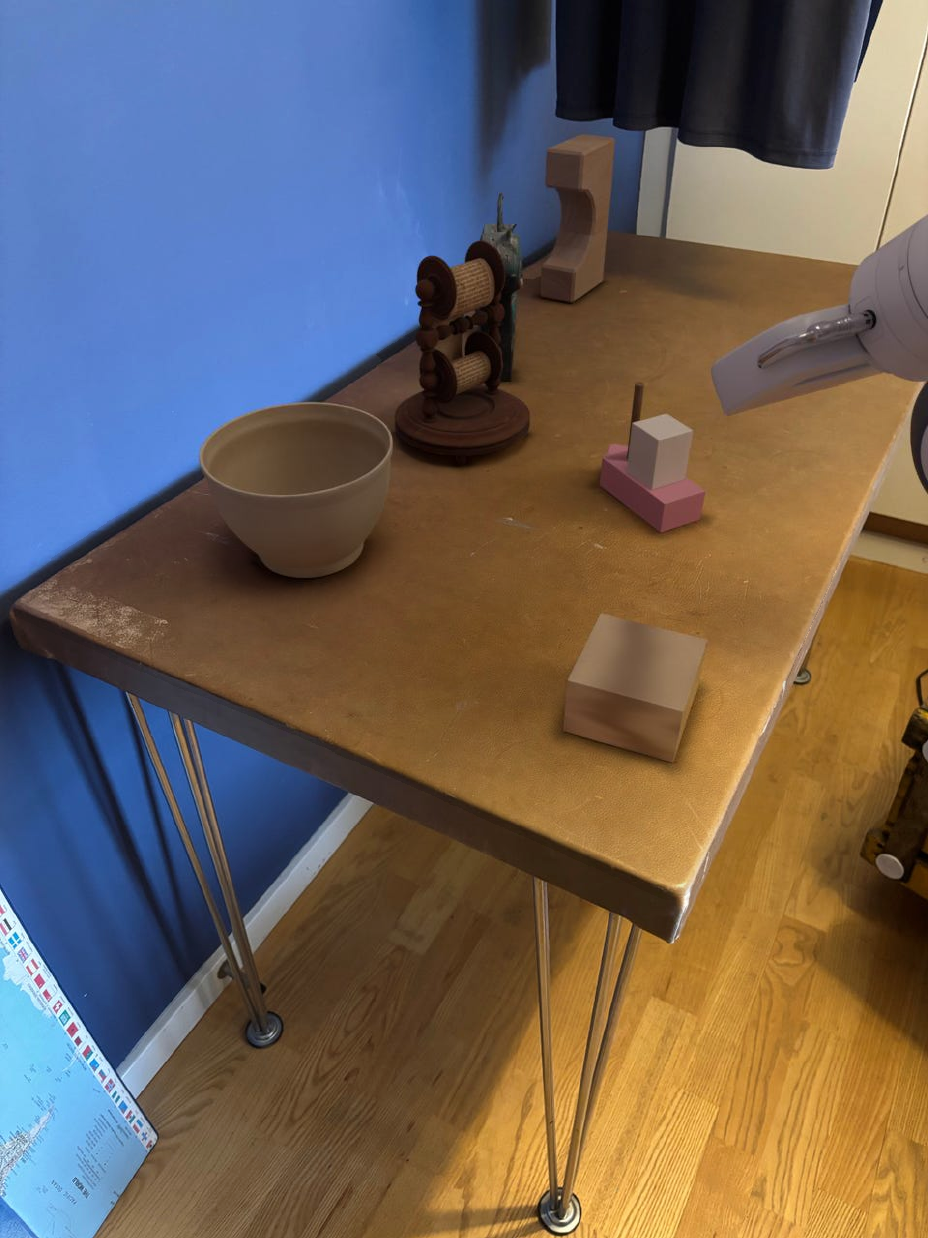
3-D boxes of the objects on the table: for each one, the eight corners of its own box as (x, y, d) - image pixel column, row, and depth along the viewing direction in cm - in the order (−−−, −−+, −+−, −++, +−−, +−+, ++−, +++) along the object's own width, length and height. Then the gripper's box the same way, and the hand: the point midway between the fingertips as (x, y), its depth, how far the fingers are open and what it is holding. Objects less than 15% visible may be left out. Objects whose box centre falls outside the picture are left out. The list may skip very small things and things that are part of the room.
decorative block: (572, 304, 132) (582, 152, 120) (537, 297, 134) (544, 148, 122) (604, 282, 139) (617, 137, 127) (571, 276, 142) (580, 132, 129)
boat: (700, 519, 87) (719, 413, 80) (660, 533, 85) (676, 426, 78) (626, 465, 95) (638, 365, 88) (588, 476, 94) (597, 375, 87)
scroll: (463, 394, 109) (461, 218, 97) (556, 434, 101) (567, 247, 88) (368, 435, 101) (353, 249, 89) (461, 483, 93) (458, 285, 80)
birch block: (697, 689, 69) (707, 639, 66) (673, 763, 63) (683, 711, 60) (595, 662, 71) (600, 612, 68) (562, 731, 65) (567, 680, 62)
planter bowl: (187, 553, 83) (161, 446, 77) (324, 486, 92) (311, 386, 86) (295, 629, 75) (277, 516, 68) (435, 548, 84) (431, 441, 77)
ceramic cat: (520, 387, 110) (526, 212, 98) (467, 387, 111) (466, 212, 98) (516, 325, 126) (521, 168, 113) (469, 325, 126) (469, 168, 113)
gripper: (817, 385, 52) (682, 462, 65) (1049, 322, 59) (887, 402, 72) (779, 282, 52) (652, 379, 65) (1015, 232, 60) (859, 328, 72)
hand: (777, 391), depth 69 cm, fingers open, 8 cm apart
